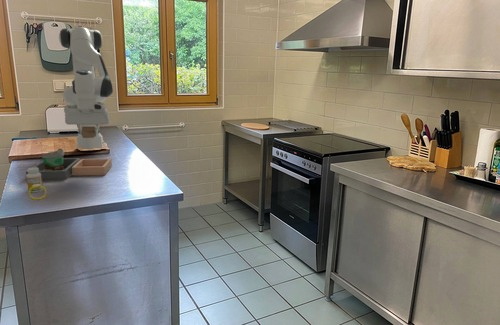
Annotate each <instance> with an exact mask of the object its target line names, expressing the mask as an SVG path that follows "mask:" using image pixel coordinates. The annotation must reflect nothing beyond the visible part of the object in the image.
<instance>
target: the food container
mask: <svg viewBox="0 0 500 325" xmlns="http://www.w3.org/2000/svg"><path fill="white" fill-rule="evenodd" d="M64 155H65V151H64V150H63V149H62V148H58V149H57V150H54V151H50V152H48V153H43V152H42V153H41V158H42V161H44V166H45V169H44V171H58V170H65V168H64V167H65V166H63V158H64Z"/></svg>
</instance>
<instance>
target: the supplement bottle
mask: <svg viewBox="0 0 500 325" xmlns="http://www.w3.org/2000/svg"><path fill="white" fill-rule="evenodd" d="M27 171H28V174H27V177H26V183H27V190H28V191H29V190H30V188H31V187H32V186H33V185H34V184H40V185H41V186H43V180H42V177H41V173H39V168H37V167H34V166H33V168H32V167H28V168H27ZM43 190H44V189H43V188H42V187H37V188H33V189H31V191H30V193H39V192H40V193H41V191H43Z"/></svg>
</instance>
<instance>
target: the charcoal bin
mask: <svg viewBox="0 0 500 325" xmlns="http://www.w3.org/2000/svg"><path fill="white" fill-rule="evenodd" d="M81 159H82V158H79V157H73V158H72V157H71V158H69V157H67V158H66V157H65V158H64V157H63V167H66V168H64V170H58V171H46V170H45V166H44V161H43V160H41V161H40V162H39V163H37V164H35V165H34V166H33V167H37V168H39V173H41V177H42V181H48V180H51V181H52V180H57V181H59V180H67V179H69V178H70V177H71V175H72V176H73V174H72V167H73V166H74V165H75V164H76V163H78V162H79V161H80V160H81ZM33 167H31V168H33ZM25 174H26V175H25V176H26V178H27V174H28V170H26V171H25Z"/></svg>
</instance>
